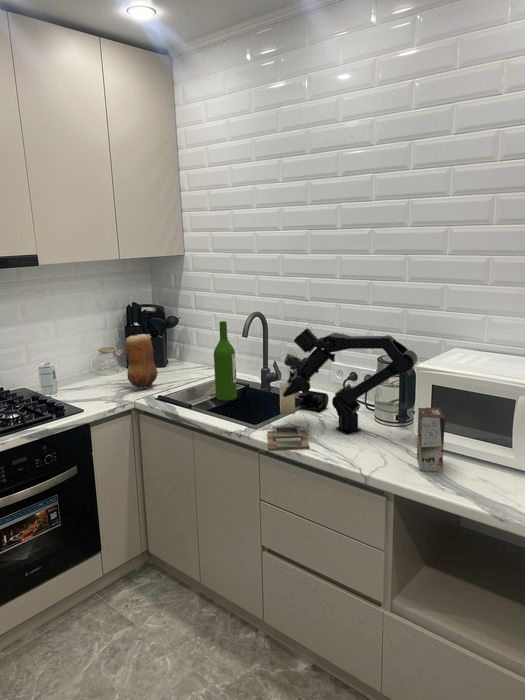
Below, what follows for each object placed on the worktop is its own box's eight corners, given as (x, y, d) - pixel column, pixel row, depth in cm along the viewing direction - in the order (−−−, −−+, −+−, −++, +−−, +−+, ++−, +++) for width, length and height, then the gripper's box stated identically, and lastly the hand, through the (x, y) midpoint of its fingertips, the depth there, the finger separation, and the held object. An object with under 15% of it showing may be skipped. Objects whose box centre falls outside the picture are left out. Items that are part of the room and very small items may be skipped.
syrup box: (55, 396, 234) (51, 365, 231) (41, 397, 233) (37, 365, 230) (58, 393, 240) (54, 362, 237) (44, 394, 239) (40, 362, 236)
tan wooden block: (280, 409, 189) (279, 382, 187) (294, 409, 189) (293, 382, 187) (280, 414, 185) (280, 386, 182) (295, 413, 185) (294, 386, 182)
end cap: (328, 408, 208) (328, 391, 206) (320, 413, 202) (320, 396, 201) (306, 404, 213) (306, 388, 212) (297, 409, 208) (297, 392, 206)
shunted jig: (267, 433, 183) (267, 425, 183) (305, 432, 183) (305, 424, 183) (268, 450, 169) (268, 442, 168) (309, 448, 169) (309, 440, 168)
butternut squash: (132, 384, 250) (127, 332, 245) (160, 383, 251) (156, 331, 246) (125, 392, 237) (120, 337, 232) (155, 391, 237) (151, 336, 232)
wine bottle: (237, 400, 221) (233, 323, 214) (215, 401, 221) (211, 323, 214) (236, 393, 230) (233, 319, 223) (216, 394, 229) (212, 320, 223)
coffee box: (443, 472, 150) (445, 417, 146) (419, 471, 151) (421, 417, 148) (438, 458, 159) (440, 407, 155) (416, 457, 160) (417, 406, 156)
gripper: (295, 341, 191) (265, 371, 193) (299, 352, 173) (267, 386, 175) (317, 361, 193) (287, 391, 195) (324, 375, 175) (291, 408, 177)
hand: (283, 393), depth 186 cm, fingers closed on tan wooden block, 5 cm apart
